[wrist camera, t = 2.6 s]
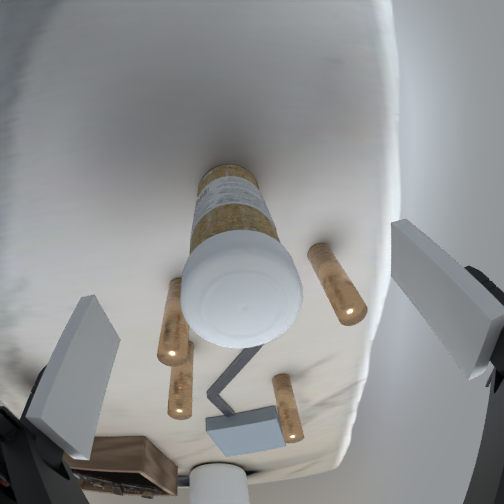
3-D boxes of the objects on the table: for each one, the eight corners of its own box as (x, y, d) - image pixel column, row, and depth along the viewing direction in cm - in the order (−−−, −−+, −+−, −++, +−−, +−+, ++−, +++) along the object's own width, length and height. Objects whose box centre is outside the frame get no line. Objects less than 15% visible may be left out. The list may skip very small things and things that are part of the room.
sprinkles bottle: (232, 231, 24) (250, 367, 13) (184, 198, 23) (155, 318, 11) (271, 187, 23) (330, 296, 11) (223, 149, 21) (233, 226, 10)
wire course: (135, 272, 25) (112, 337, 18) (327, 224, 25) (367, 278, 18) (214, 415, 36) (216, 469, 29) (339, 387, 36) (358, 438, 29)
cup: (245, 459, 44) (251, 510, 35) (245, 477, 49) (250, 521, 40) (185, 460, 43) (186, 512, 34) (193, 479, 48) (195, 523, 39)
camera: (76, 450, 41) (69, 486, 34) (68, 435, 38) (59, 474, 31) (163, 467, 45) (162, 505, 38) (164, 454, 42) (162, 496, 35)
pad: (205, 418, 36) (205, 431, 35) (274, 405, 36) (276, 418, 35) (225, 445, 41) (225, 456, 39) (284, 435, 41) (286, 446, 39)
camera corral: (46, 434, 38) (38, 462, 33) (144, 436, 38) (140, 470, 33) (85, 465, 45) (81, 490, 39) (177, 466, 44) (177, 495, 39)
